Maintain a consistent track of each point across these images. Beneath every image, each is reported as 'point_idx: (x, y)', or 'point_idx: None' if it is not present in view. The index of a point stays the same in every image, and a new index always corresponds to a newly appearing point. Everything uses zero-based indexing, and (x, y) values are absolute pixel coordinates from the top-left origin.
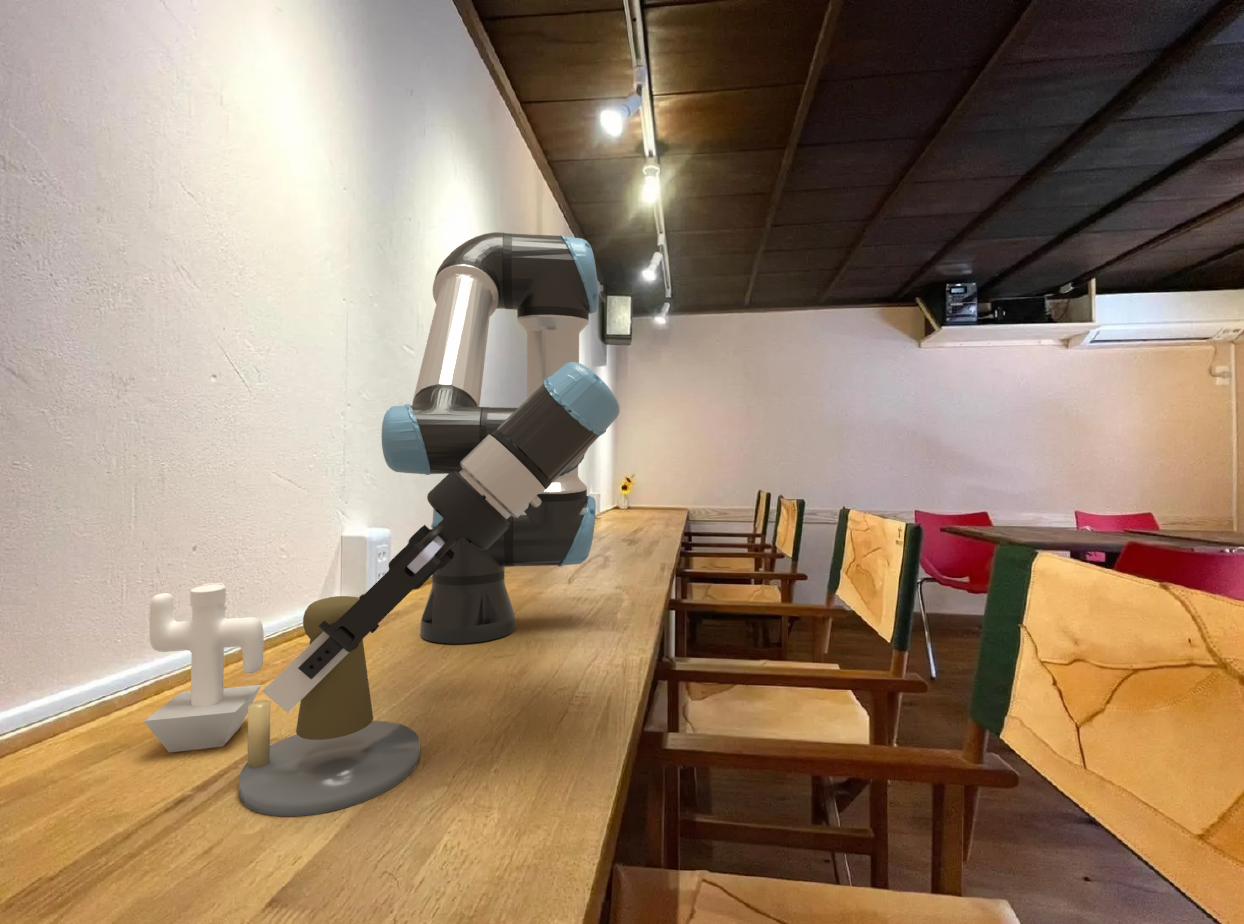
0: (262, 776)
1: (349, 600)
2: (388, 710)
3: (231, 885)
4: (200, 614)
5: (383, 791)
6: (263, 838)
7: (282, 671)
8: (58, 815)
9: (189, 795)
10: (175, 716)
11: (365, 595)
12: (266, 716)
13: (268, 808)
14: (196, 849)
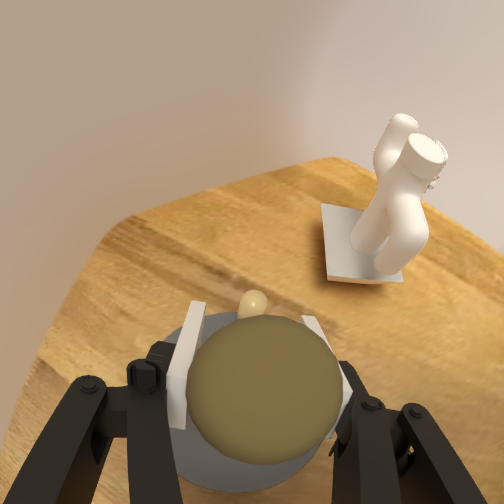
0: (209, 335)
1: (243, 424)
2: None
3: (71, 336)
4: (397, 165)
5: None
6: (121, 352)
7: (186, 318)
8: (232, 201)
9: (228, 278)
10: (327, 224)
11: (30, 458)
12: (244, 316)
13: None
14: (130, 304)
